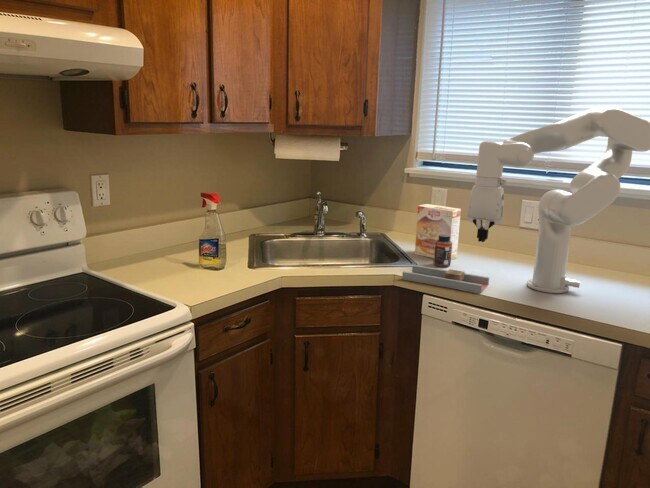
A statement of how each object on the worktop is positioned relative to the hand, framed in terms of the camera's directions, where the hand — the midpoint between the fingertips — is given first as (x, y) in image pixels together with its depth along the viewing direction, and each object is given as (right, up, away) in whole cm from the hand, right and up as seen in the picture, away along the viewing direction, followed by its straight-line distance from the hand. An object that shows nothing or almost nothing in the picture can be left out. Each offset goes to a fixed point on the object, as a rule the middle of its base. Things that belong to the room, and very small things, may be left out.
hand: (481, 240), depth 169 cm
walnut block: (-7, -14, +8) cm, 17 cm away
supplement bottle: (-6, -9, +28) cm, 30 cm away
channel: (-10, -13, +9) cm, 19 cm away
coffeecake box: (-6, -6, +41) cm, 42 cm away
